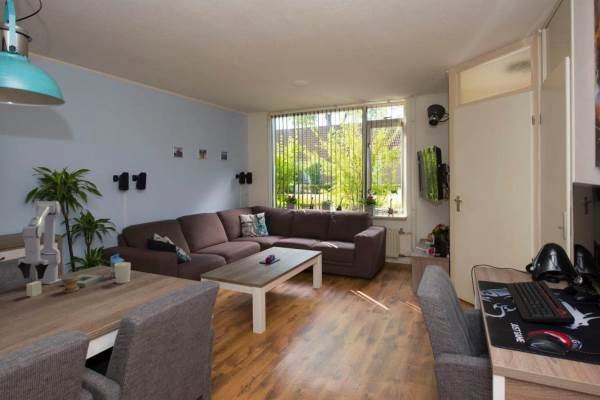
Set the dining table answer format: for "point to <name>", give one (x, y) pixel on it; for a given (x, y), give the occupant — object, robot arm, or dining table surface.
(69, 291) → the wooden knob
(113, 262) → the label tape box
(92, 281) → the notched board
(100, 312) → the dining table surface
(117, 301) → the dining table surface
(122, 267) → the white cup
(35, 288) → the tab block
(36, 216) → the robot arm
